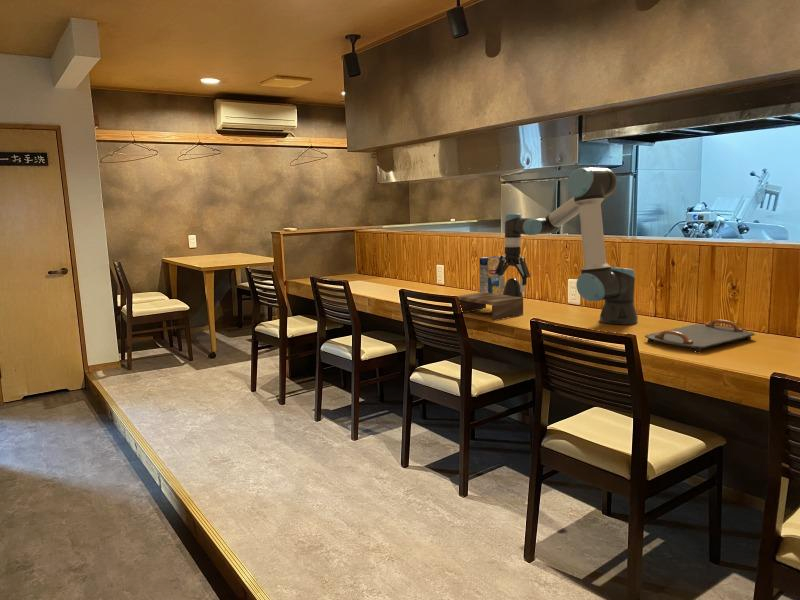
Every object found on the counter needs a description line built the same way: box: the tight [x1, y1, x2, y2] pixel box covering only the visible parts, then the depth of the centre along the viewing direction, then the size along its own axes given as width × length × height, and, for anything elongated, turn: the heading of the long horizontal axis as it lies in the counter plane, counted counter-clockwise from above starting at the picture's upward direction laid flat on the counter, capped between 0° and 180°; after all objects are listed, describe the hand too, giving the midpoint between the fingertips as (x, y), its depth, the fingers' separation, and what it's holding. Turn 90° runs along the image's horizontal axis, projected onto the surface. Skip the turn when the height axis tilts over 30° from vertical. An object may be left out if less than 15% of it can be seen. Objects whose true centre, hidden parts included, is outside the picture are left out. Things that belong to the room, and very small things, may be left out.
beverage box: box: [479, 256, 504, 295], centre depth 324 cm, size 7×11×22 cm, turn 124°
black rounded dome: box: [503, 277, 524, 299], centre depth 290 cm, size 10×10×15 cm
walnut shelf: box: [456, 291, 524, 321], centre depth 280 cm, size 26×18×8 cm
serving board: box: [644, 319, 755, 352], centre depth 218 cm, size 39×23×6 cm, turn 122°
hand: (512, 290), depth 290 cm, fingers open, 13 cm apart
